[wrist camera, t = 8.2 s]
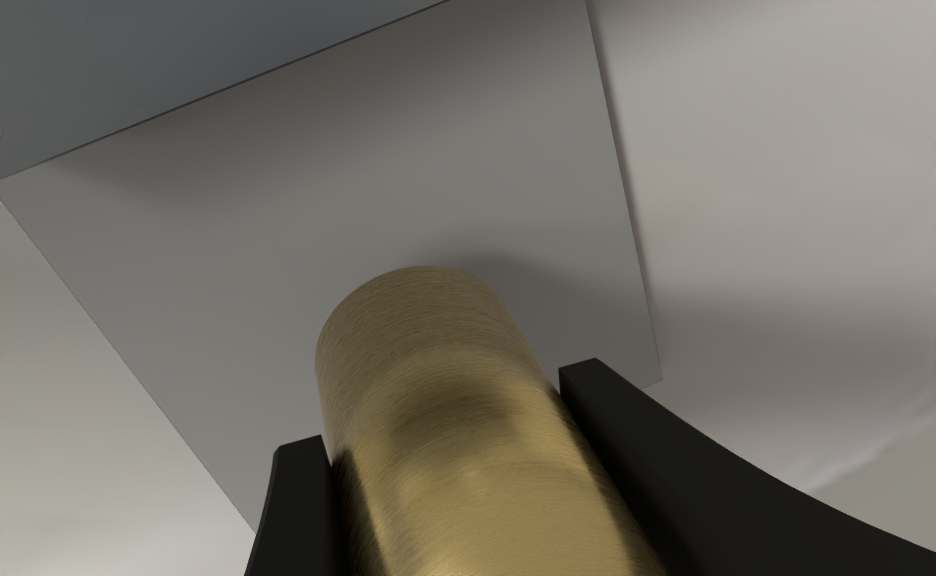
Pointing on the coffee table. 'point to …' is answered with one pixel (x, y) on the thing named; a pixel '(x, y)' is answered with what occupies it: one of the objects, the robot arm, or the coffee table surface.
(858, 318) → the coffee table surface
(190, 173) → the rubber mat
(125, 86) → the chuck block
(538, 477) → the gold metal cylinder
